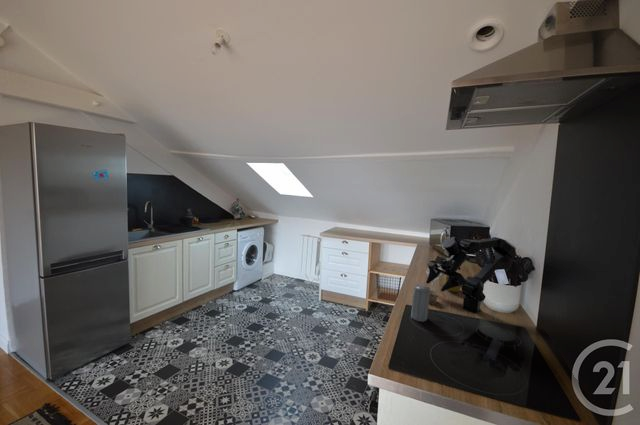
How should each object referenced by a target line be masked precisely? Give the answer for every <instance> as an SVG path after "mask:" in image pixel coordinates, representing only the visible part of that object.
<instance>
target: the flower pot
mask: <svg viewBox="0 0 640 425" xmlns="http://www.w3.org/2000/svg"><path fill="white" fill-rule="evenodd" d="M448 278H449V276H447V275H445V274H444V284H445V283H446V282H447V281H448ZM460 289H462V288H461V285H460V286H456V287H453V288H450V289H448V290H447V291H449V292H454V293H457V292H459V291H460Z"/></svg>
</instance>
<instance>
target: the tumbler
mask: <svg viewBox="0 0 640 425" xmlns="http://www.w3.org/2000/svg"><path fill="white" fill-rule="evenodd" d="M430 290H431V289H430V287H428V286H426V285H423V284H416V285H414V287H413V290H412V291H413V294H412V300H411V301H412V304H411V312H410V317H411V319H412V318H413V319H412V320H414V321H417V322H422V323H423V322H426V321H427V320H428V315H429V304H430V303H429V297H430Z"/></svg>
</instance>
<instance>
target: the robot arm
mask: <svg viewBox="0 0 640 425" xmlns="http://www.w3.org/2000/svg"><path fill="white" fill-rule="evenodd" d="M442 247H443V248H444V250H445V251H446V252H447V253H448V255H450V257H446V258H444V257H442V256H439V255H436V256H435V259H434V260H433V261H434V262H437V263H439V264H440V265H439V266H440V267H441V268H440V267H439V266H438V265H437V264H436V263H434V262H430V261H428V263H427V266H426V267H428V268H429V271H430V272H429V276H428V275H427V279H426V282H425V283H426V284H430V283H432V281H433V280H434V279H435V278H436V277H438V274H440V273H442V275H444V276H445V275H447V276H449V278H448V281H447V282H446V283H445V282H444V284H443V286H442V287H441V289H440V291H441V292H446V291H448V289H450V288H453V287H456V286H460V285H461V288H460V289H461V292H462V295H464V297H463V300H462V301H463V302H462V307H461V308H462V309H463V310H466V311H469V312H471V313H473V314H477V313H479V312H481V311H482V308H481V305H482V304H481V303H483V301H485V300H486V297H487V296H486V295H485V293H484V292H483V291H484V289H485V288H484V287H485V286H484V285H485V283H487V281H489V279H490V278H491V277H492V276H493V275H494V274H493V272H494V270H495V268H496V267H497V266H498V265H501V266H502V265H504V264H507V263H510V262H511V261H512V260H514V259H515V258H516V256H517V251H516V249H515V248H513V246H511V245H510V244H508V243H507V242H506V241H505V240H504V239H503V238H500V237H497V236H495V237H494V236H493V237H490V238H483V239H476V240H474V239H466V238H463V239H461V240H460V241H458V239H457V237H456V236H451V237H449V238H447V239H444V240H443V241H442ZM486 249H493V252H492V253H493V254H494V256H495V260H494V263H492V264H487V263H486V264H485V265H484V266H483V267H482V268H481V269H480V270H479V271H478V273H477V274H475V276H470V275H469V276H467V277H466V278H465V277H464V275H463V274H462V273H461V272H460V273H459V272H457V271H461V269H462V268H461V266H462V265H463V264H465V262H466V261H467V262H470V261H471V259H470V255H468V254H471V255H474V254H478V253H479V252H480V251H481V250H486ZM492 274H493V275H492Z"/></svg>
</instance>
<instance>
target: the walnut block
mask: <svg viewBox="0 0 640 425" xmlns="http://www.w3.org/2000/svg"><path fill="white" fill-rule="evenodd" d="M431 290H432V289H430V297H429V304H430V305H435V304H436V303H437V300H438V299H437V298H438V296H437V294H438V292H437V291H436V290H435V291H434V290H433V291H431Z"/></svg>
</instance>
